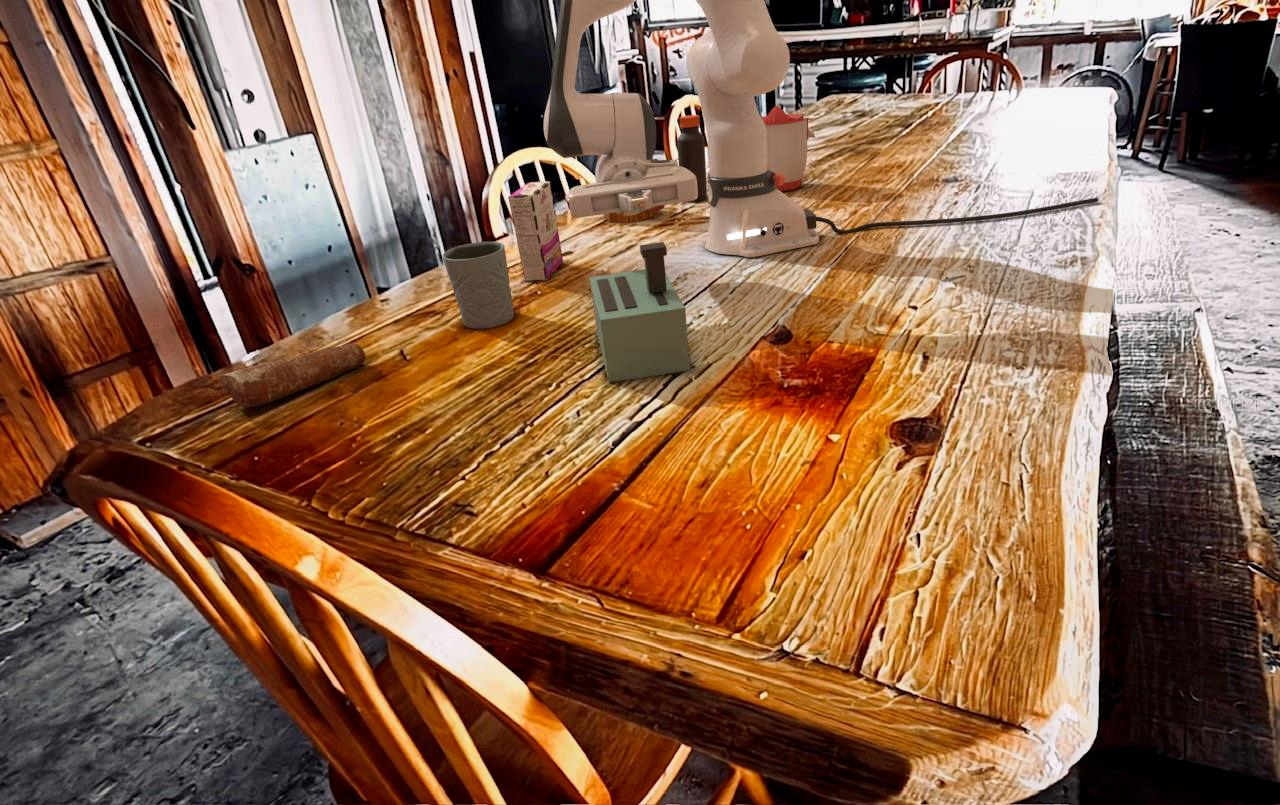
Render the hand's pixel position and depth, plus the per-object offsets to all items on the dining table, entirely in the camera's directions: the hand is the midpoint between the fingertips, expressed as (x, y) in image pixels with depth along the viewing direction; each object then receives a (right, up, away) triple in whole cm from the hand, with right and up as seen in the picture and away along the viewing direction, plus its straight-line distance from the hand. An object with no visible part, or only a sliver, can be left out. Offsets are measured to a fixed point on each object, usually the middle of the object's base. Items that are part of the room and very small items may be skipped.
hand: (639, 204), depth 104 cm
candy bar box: (-19, -4, +35) cm, 40 cm away
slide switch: (+2, -14, -8) cm, 16 cm away
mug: (0, +16, +67) cm, 69 cm away
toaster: (0, -22, -2) cm, 22 cm away
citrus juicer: (+37, +27, +80) cm, 92 cm away
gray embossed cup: (-26, -15, +15) cm, 34 cm away
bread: (-49, -27, -2) cm, 56 cm away
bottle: (+14, +23, +78) cm, 83 cm away
